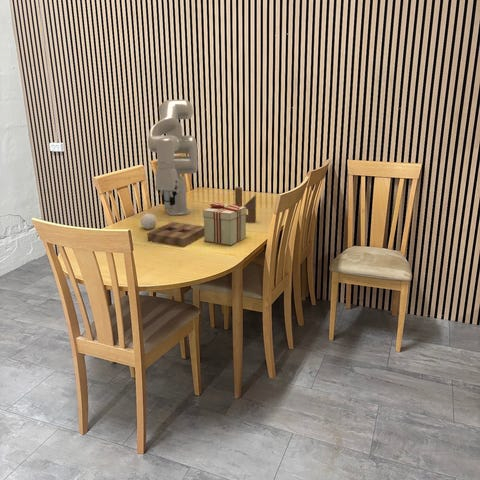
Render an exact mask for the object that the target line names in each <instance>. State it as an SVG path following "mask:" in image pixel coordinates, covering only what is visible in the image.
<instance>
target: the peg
mask: <svg viewBox="0 0 480 480" xmlns="http://www.w3.org/2000/svg"><path fill="white" fill-rule="evenodd" d="M170 197H171V195H170V191H164V206H165V207H164V210H165V211H168V210H171V209H173V205H172V206H171V205H170Z"/></svg>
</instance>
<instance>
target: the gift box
mask: <svg viewBox="0 0 480 480" xmlns="http://www.w3.org/2000/svg"><path fill="white" fill-rule="evenodd" d="M243 206H244V205H242V206H238V205H235V204H233V203H232V204H225V203H224V204H223V203H222V202H217V201H215V202H214V201H213V202H212V203H210V204H209V208H206V209H203V210H202V217H203V226H204V235H205V236H204V242H209V243H215V244H220V245H227V246H233V245H234V244H236V243H238V242H239V241H241V240H244V238H246V237H247V235H246V234H247V227H246V226H247V225H246V224H247V222H246V214H247V209H246V207H243Z"/></svg>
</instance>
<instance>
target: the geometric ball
mask: <svg viewBox="0 0 480 480" xmlns="http://www.w3.org/2000/svg"><path fill="white" fill-rule="evenodd" d="M140 223H141V226H142V227H143V228H144V229H147V230H150V229H153V228H155V227H156V225H157V218H156V216H155V215H154V214H151V212H149V213H146V214H143V215H142V216H141V218H140Z"/></svg>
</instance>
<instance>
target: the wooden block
mask: <svg viewBox="0 0 480 480" xmlns="http://www.w3.org/2000/svg"><path fill="white" fill-rule="evenodd" d="M234 194H235V196H234V199H235V201H234V203H235V205H238V206H243V207H246V210H247V213H246V223H251V224H252V223H256V221H257V213H256V212H257V208H256V207H257V202H256V201H257V195H256V194H255V195H254V196H253V197H251V198H250V199H249V200H248V201H247V202H246V203H245V204H244V205H243V188H242V186H236V187H235V188H234Z"/></svg>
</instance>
